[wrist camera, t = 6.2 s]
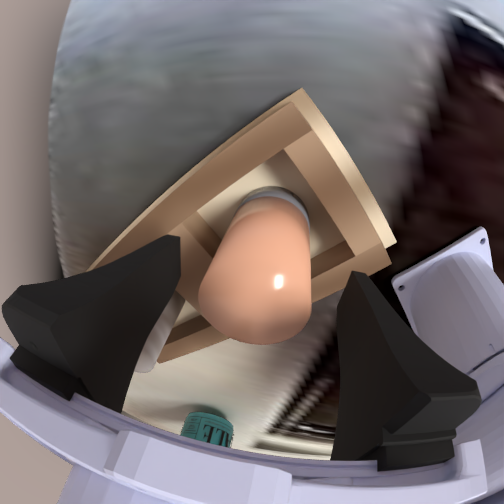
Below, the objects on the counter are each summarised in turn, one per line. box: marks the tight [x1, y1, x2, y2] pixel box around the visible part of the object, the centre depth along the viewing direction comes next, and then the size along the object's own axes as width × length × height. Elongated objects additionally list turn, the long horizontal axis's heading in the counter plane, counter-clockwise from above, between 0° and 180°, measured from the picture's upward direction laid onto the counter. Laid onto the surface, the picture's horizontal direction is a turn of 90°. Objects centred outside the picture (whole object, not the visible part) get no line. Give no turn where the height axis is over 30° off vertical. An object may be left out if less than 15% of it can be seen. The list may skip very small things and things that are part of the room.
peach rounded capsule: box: [198, 186, 311, 345], centre depth 13 cm, size 4×4×7 cm
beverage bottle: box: [180, 412, 234, 448], centre depth 24 cm, size 6×7×20 cm
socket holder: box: [86, 88, 396, 373], centre depth 16 cm, size 10×21×7 cm, turn 128°
